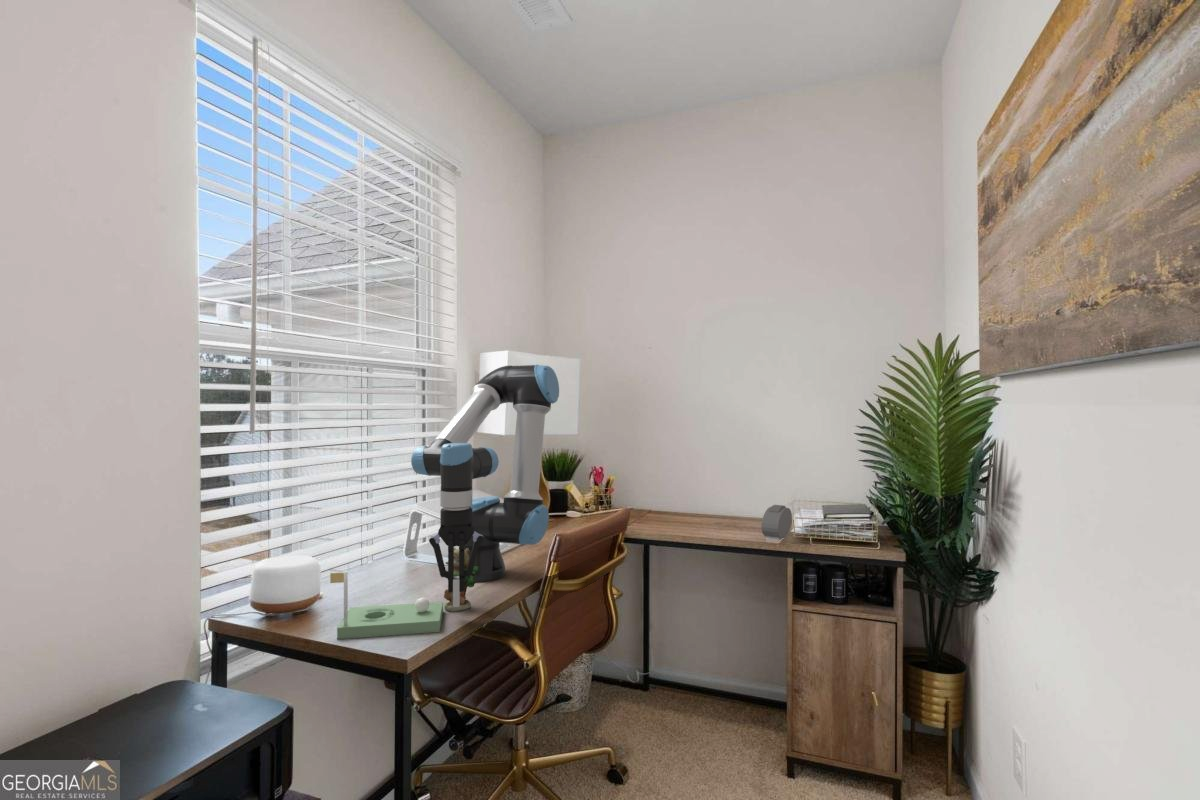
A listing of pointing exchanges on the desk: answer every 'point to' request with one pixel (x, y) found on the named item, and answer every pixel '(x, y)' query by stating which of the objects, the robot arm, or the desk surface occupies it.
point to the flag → (341, 578)
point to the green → (390, 620)
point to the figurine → (468, 583)
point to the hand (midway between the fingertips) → (456, 604)
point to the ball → (421, 605)
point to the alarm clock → (776, 522)
